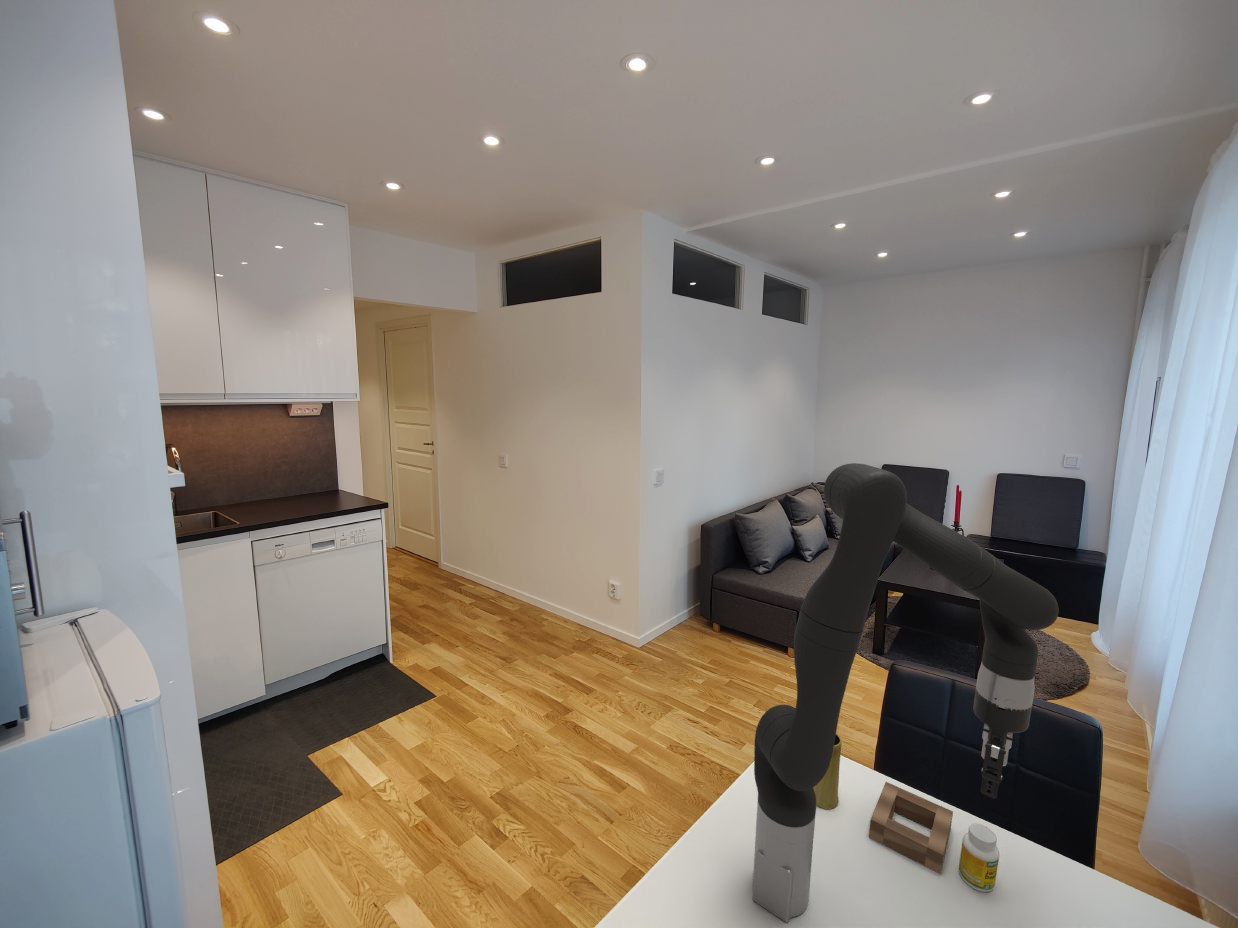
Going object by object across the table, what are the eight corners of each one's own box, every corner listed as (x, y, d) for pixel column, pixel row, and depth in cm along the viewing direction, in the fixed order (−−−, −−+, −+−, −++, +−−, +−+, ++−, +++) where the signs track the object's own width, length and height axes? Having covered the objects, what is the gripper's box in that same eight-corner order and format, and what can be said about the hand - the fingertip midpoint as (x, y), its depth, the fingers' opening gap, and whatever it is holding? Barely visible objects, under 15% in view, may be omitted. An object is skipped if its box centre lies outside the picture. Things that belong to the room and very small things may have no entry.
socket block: (940, 873, 94) (943, 854, 94) (868, 836, 102) (870, 818, 101) (950, 828, 104) (953, 811, 103) (884, 797, 111) (885, 781, 110)
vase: (841, 794, 112) (846, 734, 109) (835, 814, 107) (840, 752, 104) (811, 782, 115) (815, 723, 113) (804, 801, 110) (808, 740, 107)
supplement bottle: (966, 859, 97) (973, 814, 95) (1000, 882, 93) (1007, 835, 91) (952, 874, 94) (958, 828, 93) (986, 899, 90) (993, 851, 88)
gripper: (980, 666, 95) (969, 746, 98) (971, 705, 84) (959, 794, 87) (1033, 682, 90) (1020, 765, 93) (1031, 725, 79) (1015, 818, 82)
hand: (990, 779), depth 90 cm, fingers open, 8 cm apart
